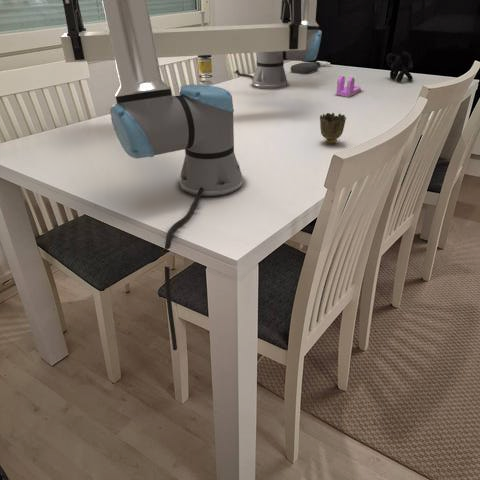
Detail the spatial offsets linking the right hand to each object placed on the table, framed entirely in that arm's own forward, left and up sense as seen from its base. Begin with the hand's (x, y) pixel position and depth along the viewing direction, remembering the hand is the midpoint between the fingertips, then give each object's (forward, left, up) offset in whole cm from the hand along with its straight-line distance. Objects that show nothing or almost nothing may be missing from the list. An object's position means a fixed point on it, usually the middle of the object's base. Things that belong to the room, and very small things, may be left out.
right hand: (289, 46), depth 147 cm
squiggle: (-46, +59, -23) cm, 78 cm away
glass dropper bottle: (-38, -28, -23) cm, 52 cm away
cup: (+31, +8, -23) cm, 39 cm away
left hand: (+7, -66, 0) cm, 66 cm away
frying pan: (-76, +25, -23) cm, 83 cm away
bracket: (-27, +31, -23) cm, 47 cm away
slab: (+4, -33, -1) cm, 33 cm away
